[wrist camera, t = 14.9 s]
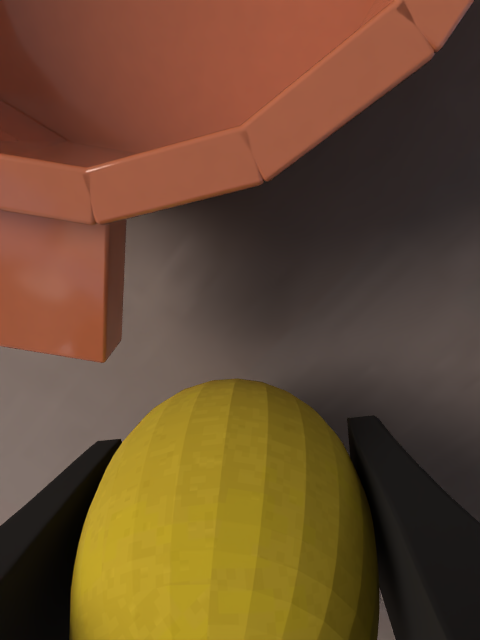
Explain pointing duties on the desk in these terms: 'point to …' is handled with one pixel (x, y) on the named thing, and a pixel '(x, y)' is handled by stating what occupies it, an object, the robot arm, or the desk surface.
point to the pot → (166, 127)
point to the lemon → (228, 527)
